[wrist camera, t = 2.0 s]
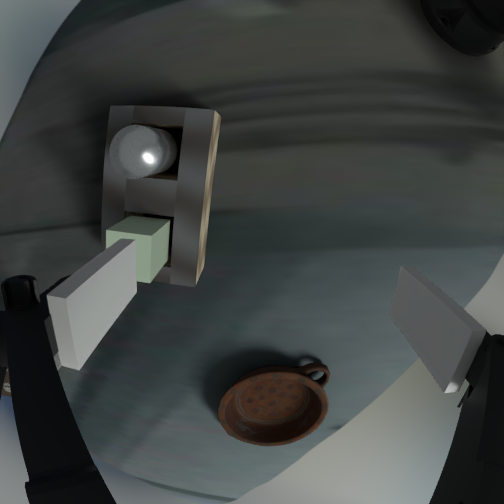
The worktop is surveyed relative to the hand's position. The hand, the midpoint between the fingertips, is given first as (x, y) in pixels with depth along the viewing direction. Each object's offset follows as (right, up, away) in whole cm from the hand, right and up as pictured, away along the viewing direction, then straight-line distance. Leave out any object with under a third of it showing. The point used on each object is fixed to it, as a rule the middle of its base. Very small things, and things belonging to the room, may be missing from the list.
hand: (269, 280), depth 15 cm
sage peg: (-13, +3, +22) cm, 25 cm away
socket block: (-12, +10, +26) cm, 30 cm away
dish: (+3, -23, +36) cm, 43 cm away
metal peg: (-11, +13, +19) cm, 25 cm away
